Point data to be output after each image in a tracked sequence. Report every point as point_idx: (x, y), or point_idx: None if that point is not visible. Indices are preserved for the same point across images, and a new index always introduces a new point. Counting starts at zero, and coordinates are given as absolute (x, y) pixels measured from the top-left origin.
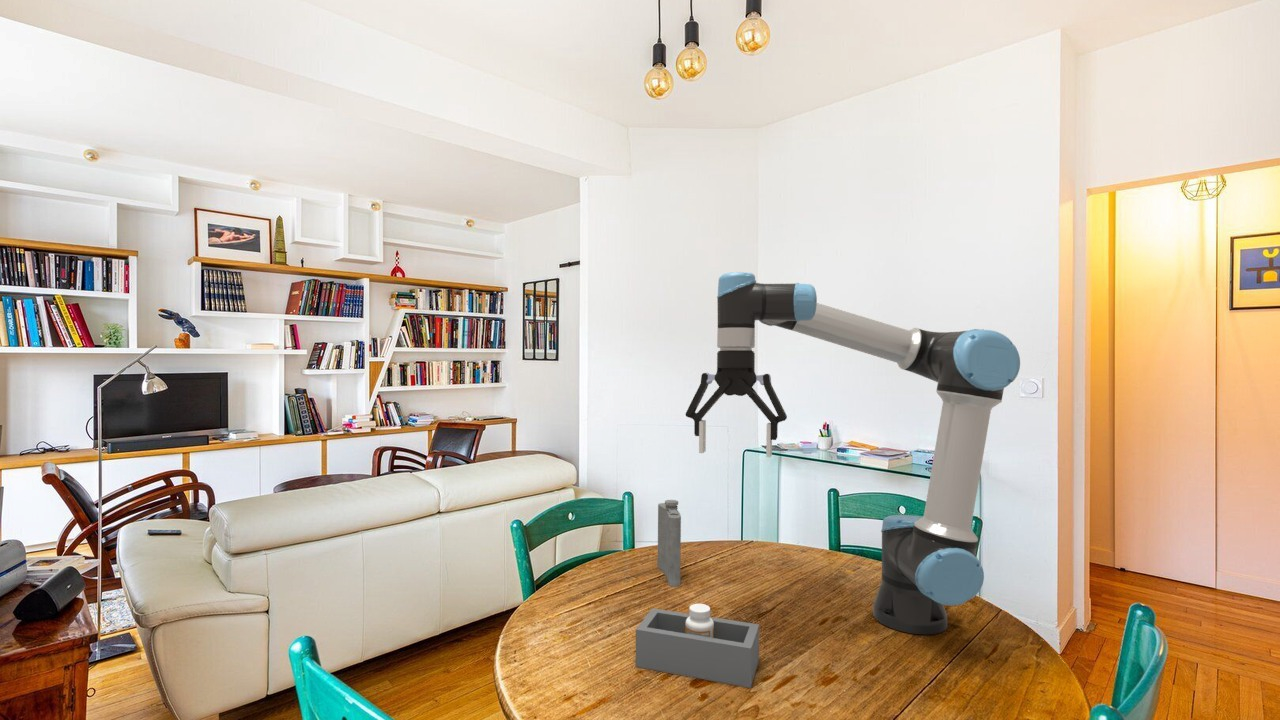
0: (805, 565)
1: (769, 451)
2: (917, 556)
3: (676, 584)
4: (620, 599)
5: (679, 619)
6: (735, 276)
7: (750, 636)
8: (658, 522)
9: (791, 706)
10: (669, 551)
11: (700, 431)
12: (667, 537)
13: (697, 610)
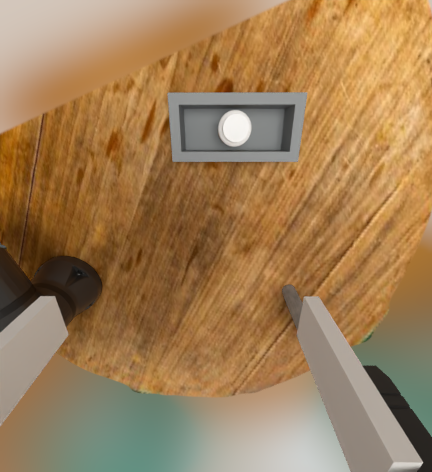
0: (175, 360)
1: (25, 311)
2: None
3: (285, 286)
4: (336, 240)
5: (262, 151)
6: None
7: (174, 125)
8: None
9: (133, 78)
10: None
11: (364, 382)
12: None
13: (237, 118)
